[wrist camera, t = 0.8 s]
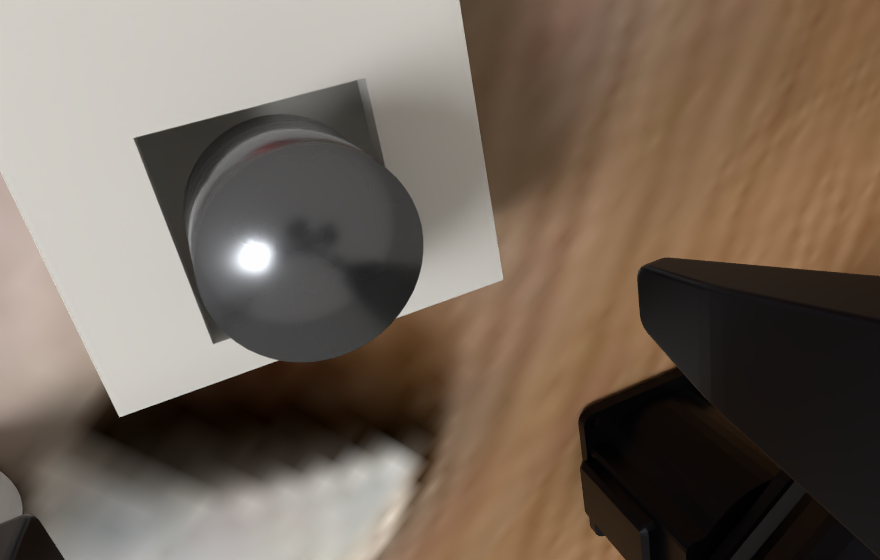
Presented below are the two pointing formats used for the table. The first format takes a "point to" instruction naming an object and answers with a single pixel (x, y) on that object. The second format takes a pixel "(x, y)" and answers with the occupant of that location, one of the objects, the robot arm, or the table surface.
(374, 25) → the console
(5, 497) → the photo printer
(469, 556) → the table surface
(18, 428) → the table surface
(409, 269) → the plug
